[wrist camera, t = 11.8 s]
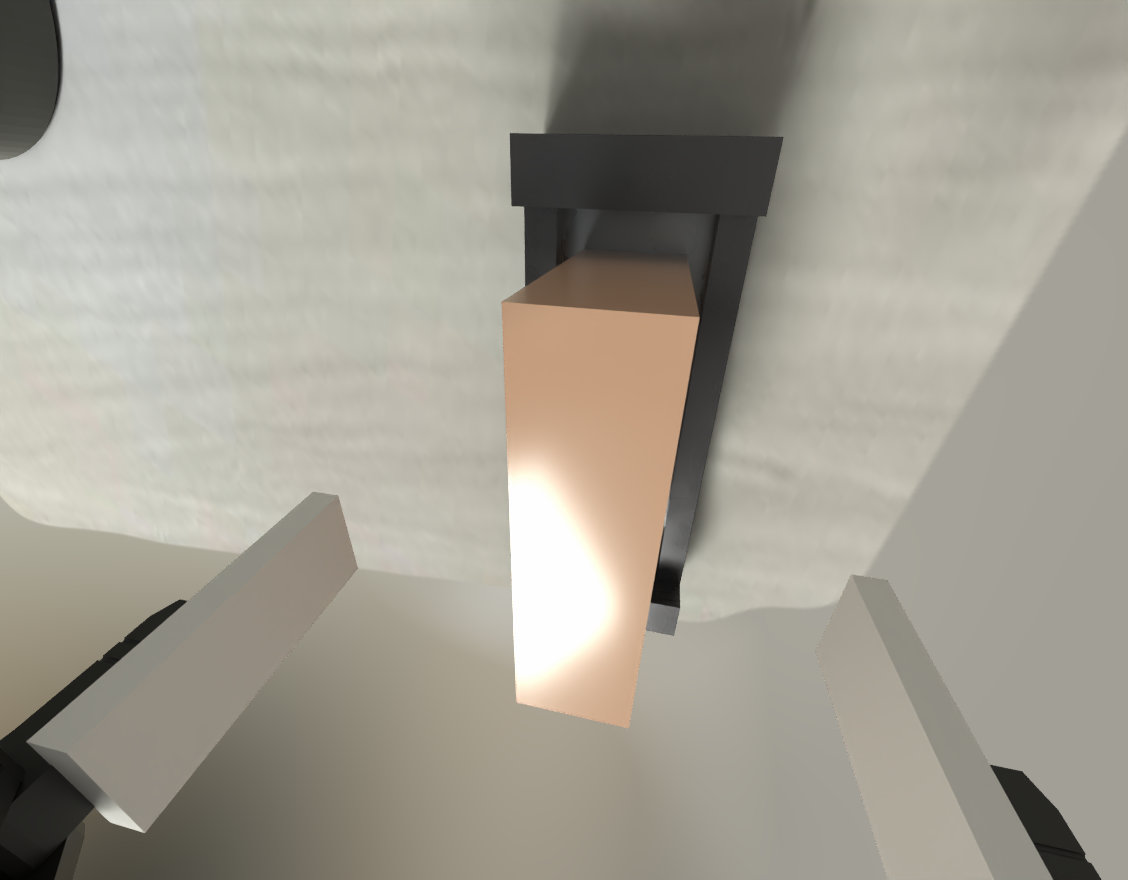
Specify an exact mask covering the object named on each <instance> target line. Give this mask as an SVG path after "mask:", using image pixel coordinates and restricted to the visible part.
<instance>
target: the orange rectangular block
mask: <svg viewBox="0 0 1128 880" xmlns="http://www.w3.org/2000/svg"><path fill="white" fill-rule="evenodd" d="M699 318H700V317H699V312H698V307H697V302H696V298H695V293H694V288H693V283H692V278H691V274H690V269H689V264H688V259H687V255H677V254H659V253H641V252H623V251H605V250H588V249H583V250H582V251H580V252H578V253H577V254H575V255H574V256H572V257H571V258H569V259H568V260H566V261H564V262H563V263H561V264H560V265H558V266H557V267H555V268H554V269H552V270H551V271H549V272H547V273H546V274H544V275H543V276H541V277H540V278H538V279H537V280H535V281H533V282H532V283H530V284H529V285H527V286H526V287H524V288H523V289H521V290H520V291H518V292H516V293H515V294H513V295H512V296H510V297H509V298H507V299H506V300H504V301H502V321H503V349H504V376H505V403H506V431H507V458H508V486H509V513H510V541H511V568H512V596H513V623H514V650H515V676H516V677H515V678H516V702H517V703H521V704H526V705H530V706H534V707H539V708H543V709H547V710H552V711H556V712H561V713H565V714H570V715H574V716H578V717H583V718H587V719H591V720H596V721H600V722H604V723H608V724H613V725H617V726H621V727H626V728H629V723H630V717H631V711H632V706H633V700H634V694H635V688H636V682H637V676H638V671H639V665H640V659H641V654H642V648H643V642H644V636H645V630H646V625H647V619H648V613H649V607H650V602H651V596H652V590H653V584H654V578H655V573H656V567H657V561H658V555H659V549H660V544H661V538H662V532H663V526H664V520H665V515H666V509H667V503H668V497H669V492H670V486H671V480H672V474H673V468H674V463H675V457H676V451H677V445H678V439H679V434H680V428H681V422H682V416H683V411H684V405H685V399H686V393H687V387H688V382H689V376H690V370H691V364H692V358H693V353H694V347H695V341H696V335H697V330H698V324H699Z"/></svg>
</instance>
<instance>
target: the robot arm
mask: <svg viewBox="0 0 1128 880" xmlns="http://www.w3.org/2000/svg"><path fill="white" fill-rule="evenodd" d="M57 86H58V53H57V42H56V34H55V27H54V22H53V16H52V11H51V7H50V2H49V0H0V160H3V159H9V158H13V157H16V156H18V155H20V154H23V153H24V152H26V151H27V150H29V149H30V148H31V147H32V146H34V145H35V144H36V143H37V141H38V140H39V139H40V138H41V137H42V135H43V133H44V132H45V130H46V128H47V126H48V124H49V122H50V119H51V116H52V113H53V110H54V105H55V101H56V94H57ZM357 569H358V567H357V563H356V560H355V556H354V552H353V549H352V545H351V541H350V538H349V534H348V530H347V527H346V523H345V519H344V516H343V512H342V508H341V505H340V501H339V497H338V496H337V495H330V494H324V493H317V492H312V493H311V494H310V495H309V496H308V497H307V498H306V499H304V500H303V501H302V502H301V503H300V504H299V505H298V506H296V507H295V508H294V509H293V510H292V511H291V512H290V513H288V514H287V515H286V516H285V517H284V518H283V519H281V520H280V521H279V522H278V523H277V524H276V525H275V526H273V527H272V528H271V529H270V530H269V531H268V532H267V533H265V534H264V535H263V536H262V537H261V538H260V539H258V540H257V541H256V542H255V543H254V544H253V545H252V546H250V547H249V548H248V549H247V550H246V551H245V552H244V553H242V554H241V555H240V556H239V557H238V558H237V559H236V560H234V561H233V562H232V563H231V564H230V565H229V566H227V567H226V568H225V569H224V570H223V571H222V572H221V573H219V574H218V575H217V576H216V577H215V578H214V579H213V580H211V581H210V582H209V583H208V584H207V585H206V586H204V587H203V588H202V589H201V590H200V591H199V592H198V593H196V595H194V596H193V597H192V598H191V599H190V600H188V601H185V600H178V601H176V602H174V603H173V604H171V605H169V606H167V607H166V608H164V609H162V610H160V611H159V612H157V613H155V614H153V615H152V616H150V617H149V618H147V619H146V620H145V621H144V622H143V623H141V624H140V625H139V626H138V627H137V628H135V629H134V630H133V631H132V632H131V633H130V634H128V635H127V636H126V637H125V639H124V641H123V642H119V643H118V644H116V645H115V646H114V647H113V648H112V649H110V650H109V651H108V652H107V653H106V654H105V655H103V658H102V660H100V661H98V660H97V661H96V662H95V663H94V664H93V665H91V666H90V667H89V668H88V669H87V670H86V671H84V672H83V673H82V674H81V675H79V676H78V677H77V678H76V679H75V680H73V681H72V682H71V683H70V684H69V685H67V686H66V687H65V688H64V689H63V690H61V691H60V692H59V693H58V694H57V695H56V696H54V697H53V698H52V699H51V700H49V701H48V702H47V703H46V704H45V705H44V706H42V707H41V708H40V709H39V710H37V711H36V712H35V713H34V714H33V715H31V716H30V717H29V718H28V719H27V720H26V721H24V722H23V723H22V724H21V725H20V726H18V727H17V728H16V729H15V730H13V731H12V732H11V733H9V734H8V735H7V736H5V737H4V738H3V739H2V740H0V880H72V879H73V875H74V872H75V868H76V864H77V861H78V857H79V854H80V850H81V847H82V843H83V840H84V831H85V824H84V823H83V821H82V820H83V819H84V818H85V817H86V816H87V815H88V814H89V812H91V810H92V809H93V808H94V807H95V808H96V809H97V810H98V811H99V812H100V813H101V814H102V815H103V816H104V817H105V818H106V819H107V820H108V821H109V822H111V823H114V824H117V825H121V826H124V827H127V828H131V829H134V830H137V831H140V832H143V833H145V832H146V831H147V830H148V828H149V827H150V826H151V825H152V823H153V822H154V821H155V820H156V818H157V817H158V816H159V815H160V813H161V812H162V811H163V810H164V809H165V807H166V806H167V805H168V803H169V802H170V801H171V800H172V799H173V797H174V796H175V795H176V794H177V792H178V791H179V790H180V789H181V787H182V786H183V785H184V784H185V782H186V781H187V780H188V779H189V777H190V776H191V775H192V774H193V772H194V771H195V770H196V769H197V768H198V766H199V765H200V764H201V763H202V761H203V760H204V759H205V758H206V756H207V755H208V754H209V753H210V751H211V750H212V749H213V748H214V746H215V745H216V744H217V743H218V741H219V740H220V739H221V738H222V737H223V735H224V734H225V733H226V732H227V730H228V729H229V728H230V727H231V725H232V724H233V723H234V722H235V720H236V719H237V718H238V717H239V715H240V714H241V713H242V712H243V710H244V709H245V708H246V707H247V705H248V704H249V703H250V702H251V700H252V699H253V698H254V697H255V695H256V694H257V693H258V692H259V691H260V689H261V688H262V687H263V685H264V684H265V683H266V682H267V681H268V679H269V678H270V677H271V676H272V674H273V673H274V672H275V671H276V669H277V668H278V667H279V666H280V664H281V663H282V662H283V661H284V659H285V658H286V657H287V656H288V654H289V653H290V652H291V651H292V649H293V648H294V647H295V646H296V644H297V643H298V642H299V641H300V640H301V638H302V637H303V636H304V635H305V633H306V632H307V631H308V630H309V628H310V627H311V626H312V624H313V623H314V622H315V621H316V620H317V618H318V617H319V616H320V615H321V614H322V612H323V611H324V610H325V609H326V607H327V606H328V605H329V604H330V602H331V601H332V600H333V599H334V597H335V596H336V595H337V594H338V592H339V591H340V590H341V589H342V587H343V586H344V585H345V584H346V582H347V581H348V580H349V579H350V578H351V576H352V575H353V574H354V573H355V571H356V570H357ZM816 654H817V657H818V660H819V664H820V667H821V670H822V673H823V676H824V679H825V682H826V686H827V689H828V692H829V695H830V699H831V702H832V705H833V708H834V711H835V714H836V718H837V721H838V724H839V727H840V730H841V733H842V737H843V740H844V743H845V746H846V749H847V753H848V756H849V759H850V762H851V765H852V768H853V771H854V775H855V778H856V781H857V784H858V787H859V790H860V794H861V797H862V800H863V803H864V806H865V809H866V813H867V816H868V819H869V822H870V826H871V829H872V831H873V835H874V838H875V842H876V845H877V848H878V851H879V854H880V857H881V860H882V864H883V867H884V870H885V873H886V876H887V880H1101V878H1100V877H1099V875H1098V873H1097V872H1096V870H1095V869H1094V867H1093V865H1092V864H1091V863H1089V862H1087V860H1086V859H1085V852H1084V851H1083V849H1082V848H1081V846H1080V844H1079V843H1078V841H1077V840H1076V838H1075V836H1074V835H1073V833H1072V832H1071V830H1070V828H1069V827H1068V825H1067V823H1066V822H1065V820H1064V819H1063V817H1062V815H1061V814H1060V812H1059V811H1058V810H1057V808H1056V807H1055V806H1054V805H1053V804H1052V803H1051V802H1050V801H1049V800H1048V799H1047V798H1046V797H1045V796H1044V794H1043V793H1042V792H1041V791H1039V789H1038V788H1037V787H1036V786H1035V785H1034V784H1033V783H1032V782H1031V781H1030V780H1029V778H1027V776H1026V775H1025V774H1024V773H1023V772H1022V771H1018V770H1013V769H1008V768H1003V767H998V766H993V765H989V763H988V761H987V759H986V757H985V755H984V754H983V752H982V750H981V748H980V746H979V745H978V743H977V741H976V739H975V737H974V736H973V734H972V732H971V730H970V728H969V727H968V725H967V723H966V721H965V719H964V717H963V716H962V714H961V712H960V710H959V709H958V707H957V705H956V703H955V701H954V699H953V698H952V696H951V694H950V692H949V690H948V688H947V687H946V685H945V683H944V681H943V679H942V678H941V676H940V674H939V672H938V670H937V669H936V667H935V665H934V663H933V661H932V660H931V658H930V656H929V654H928V652H927V650H926V649H925V647H924V645H923V643H922V641H921V640H920V638H919V636H918V634H917V633H916V631H915V629H914V627H913V625H912V623H911V622H910V620H909V618H908V616H907V614H906V613H905V611H904V609H903V607H902V605H901V603H900V602H899V600H898V598H897V596H896V594H895V593H894V591H893V589H892V587H891V585H890V584H889V582H888V580H883V579H876V578H870V577H864V576H857V575H851V577H850V579H849V581H848V583H847V585H846V587H845V589H844V591H843V594H842V596H841V598H840V600H839V602H838V604H837V606H836V609H835V611H834V613H833V615H832V617H831V619H830V621H829V624H828V625H827V628H826V630H825V632H824V634H823V636H822V638H821V640H820V642H819V644H818V647H817V649H816Z"/></svg>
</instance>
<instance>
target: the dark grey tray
mask: <svg viewBox="0 0 1128 880" xmlns="http://www.w3.org/2000/svg"><path fill="white" fill-rule="evenodd" d="M782 142H783V137H746V136H670V135H595V134H519V133H510V158H511V200H512V206H524V215H525V287H526V286H527V285H529V284H530V283H532V282H533V281H535V280H537V279H538V278H540V277H541V276H543V275H544V274H546V273H547V272H549V271H551V270H552V269H554V268H555V267H557V266H558V265H560V264H561V263H563V262H564V261H566V260H568V259H569V258H571V257H572V256H574V255H575V254H577V253H578V252H580V251H582V250H583V249H588V250H605V251H623V252H641V253H659V254H677V255H687V259H688V264H689V269H690V274H691V278H692V283H693V288H694V293H695V298H696V302H697V307H698V312H699V317H700V318H699V324H698V330H697V335H696V341H695V347H694V353H693V358H692V364H691V370H690V376H689V382H688V387H687V393H686V399H685V405H684V411H683V416H682V422H681V428H680V434H679V439H678V445H677V451H676V457H675V463H674V468H673V474H672V480H671V486H670V492H669V497H668V503H667V509H666V515H665V520H664V526H663V532H662V538H661V544H660V549H659V555H658V561H657V567H656V573H655V578H654V584H653V590H652V596H651V602H650V607H649V613H648V619H647V625H646V630H647V631H652V632H658V633H662V634H668V635H673V636H674V633H675V628H676V624H677V619H678V615H679V610H680V581H681V576H682V571H683V567H684V562H685V557H686V552H687V548H688V543H689V538H690V534H691V529H692V524H693V519H694V515H695V510H696V505H697V501H698V496H699V491H700V486H701V482H702V477H703V472H704V467H705V463H706V458H707V453H708V449H709V444H710V439H711V434H712V430H713V425H714V420H715V415H716V411H717V406H718V401H719V397H720V392H721V387H722V382H723V378H724V373H725V368H726V364H727V359H728V354H729V349H730V345H731V340H732V335H733V330H734V326H735V321H736V316H737V312H738V307H739V302H740V297H741V293H742V288H743V283H744V278H745V274H746V269H747V264H748V260H749V255H750V250H751V245H752V241H753V236H754V231H755V227H756V222H757V217H758V216H766V214H767V210H768V205H769V201H770V196H771V192H772V187H773V182H774V178H775V173H776V169H777V164H778V160H779V155H780V151H781V146H782Z"/></svg>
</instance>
